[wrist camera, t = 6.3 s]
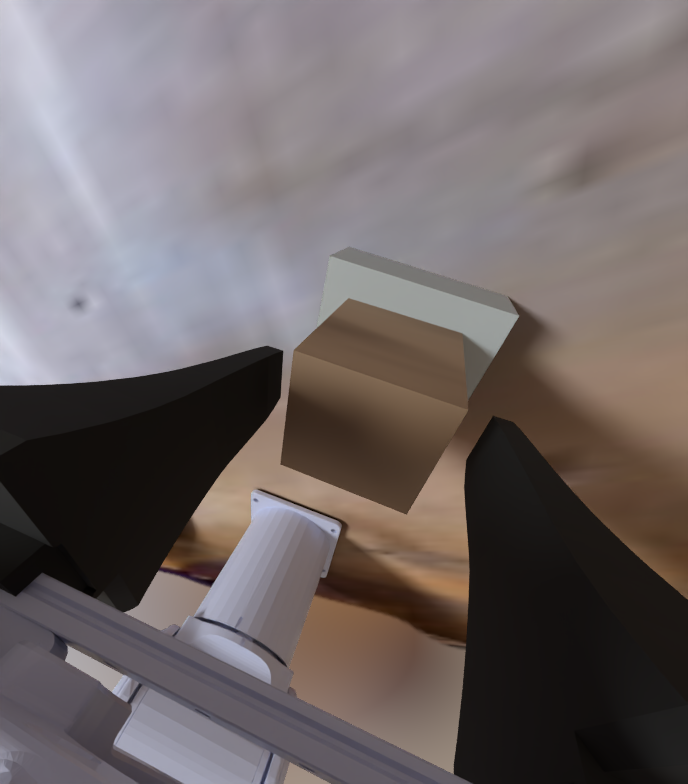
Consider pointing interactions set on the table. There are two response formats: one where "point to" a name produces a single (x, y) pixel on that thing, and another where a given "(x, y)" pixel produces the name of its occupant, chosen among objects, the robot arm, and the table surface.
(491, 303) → the grey block
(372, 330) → the walnut block
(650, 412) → the table surface
